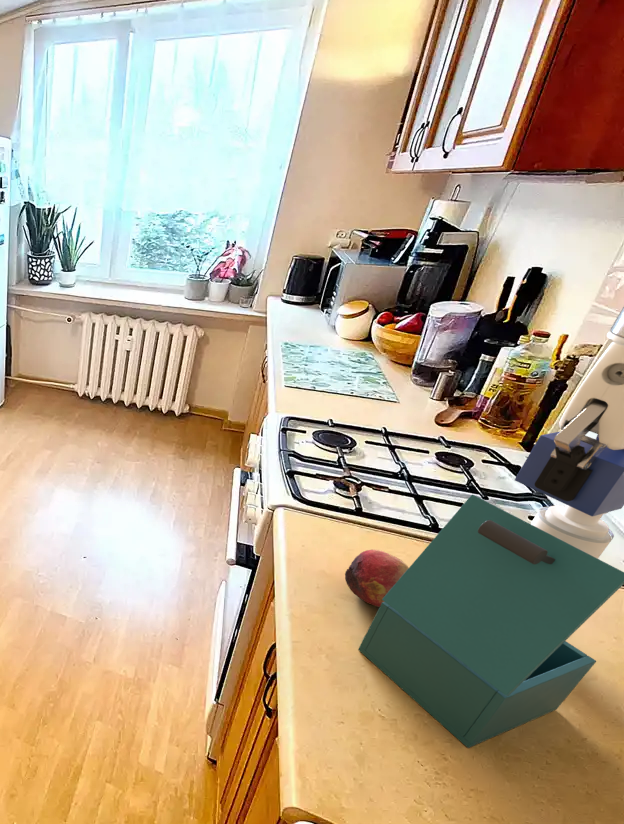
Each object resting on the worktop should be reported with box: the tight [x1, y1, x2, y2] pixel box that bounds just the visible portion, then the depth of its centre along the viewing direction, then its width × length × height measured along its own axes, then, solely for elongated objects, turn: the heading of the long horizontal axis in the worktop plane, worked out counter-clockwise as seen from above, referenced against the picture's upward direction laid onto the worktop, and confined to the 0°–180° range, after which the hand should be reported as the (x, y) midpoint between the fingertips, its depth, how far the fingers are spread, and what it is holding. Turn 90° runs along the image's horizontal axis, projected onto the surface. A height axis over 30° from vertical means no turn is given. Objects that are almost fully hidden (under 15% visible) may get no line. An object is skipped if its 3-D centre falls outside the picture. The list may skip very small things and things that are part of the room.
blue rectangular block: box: [514, 431, 624, 516], centre depth 56 cm, size 7×5×6 cm
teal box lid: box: [382, 494, 624, 696], centre depth 56 cm, size 16×14×6 cm
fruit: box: [344, 549, 409, 608], centre depth 76 cm, size 8×8×8 cm
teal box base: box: [357, 602, 597, 749], centre depth 64 cm, size 16×14×9 cm
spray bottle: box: [530, 504, 615, 559], centre depth 68 cm, size 7×7×25 cm
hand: (570, 488), depth 57 cm, fingers closed on blue rectangular block, 5 cm apart
